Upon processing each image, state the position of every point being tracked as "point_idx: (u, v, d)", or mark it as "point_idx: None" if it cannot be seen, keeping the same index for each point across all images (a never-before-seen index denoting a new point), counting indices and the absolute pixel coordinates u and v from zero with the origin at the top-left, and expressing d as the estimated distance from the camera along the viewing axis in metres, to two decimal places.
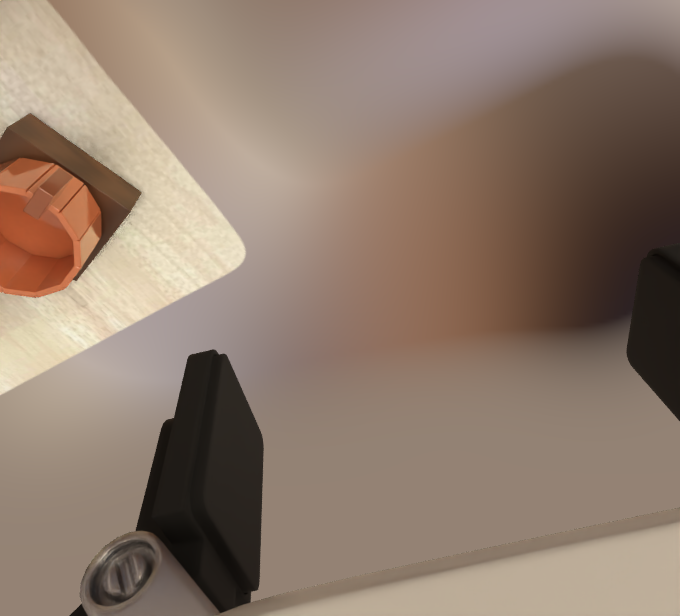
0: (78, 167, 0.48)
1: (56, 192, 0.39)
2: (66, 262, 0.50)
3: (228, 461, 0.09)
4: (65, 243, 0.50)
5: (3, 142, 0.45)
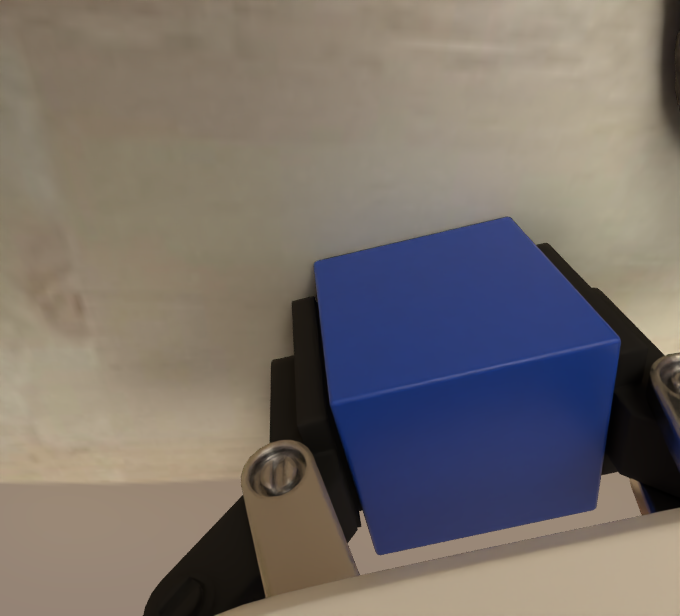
0: None
1: None
2: None
3: None
4: None
5: None
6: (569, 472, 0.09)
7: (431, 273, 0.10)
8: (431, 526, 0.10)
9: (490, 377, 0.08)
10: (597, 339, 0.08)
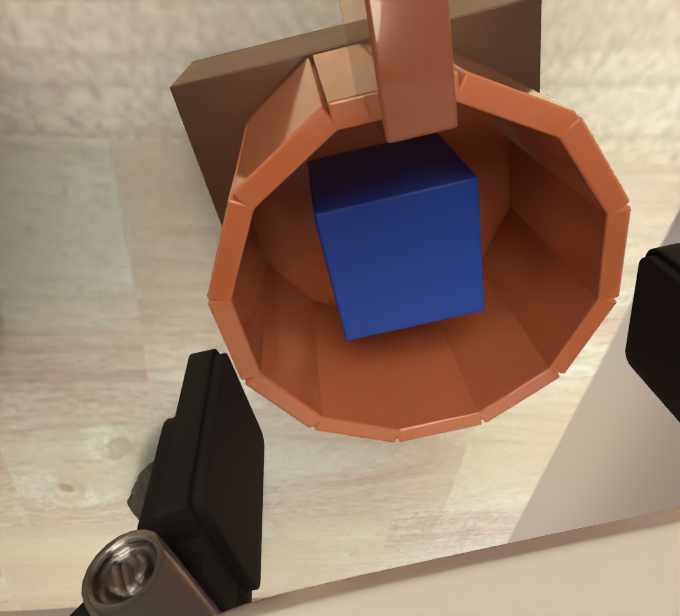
0: None
1: None
2: (512, 252, 0.18)
3: (229, 460, 0.09)
4: None
5: (196, 131, 0.17)
6: (462, 276, 0.15)
7: (380, 160, 0.16)
8: (379, 317, 0.16)
9: (405, 200, 0.14)
10: (465, 178, 0.14)
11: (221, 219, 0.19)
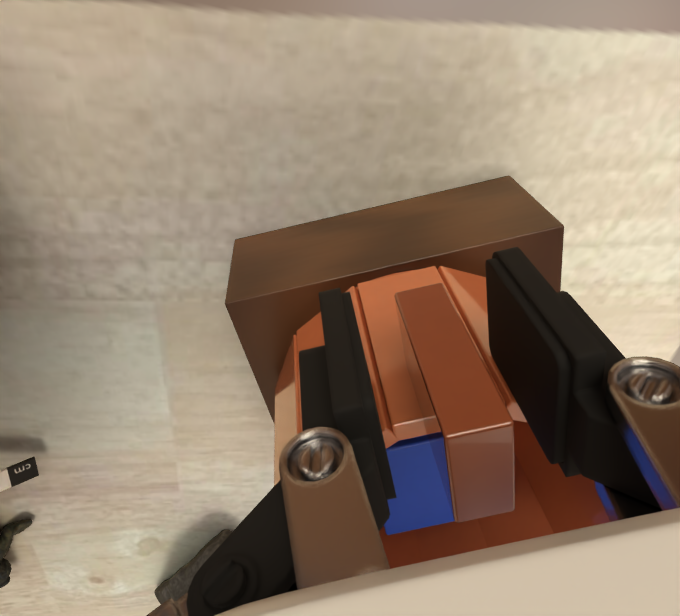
0: (389, 247, 0.18)
1: (494, 390, 0.09)
2: None
3: None
4: None
5: (247, 334, 0.18)
6: None
7: None
8: (417, 518, 0.17)
9: None
10: None
11: (265, 397, 0.20)
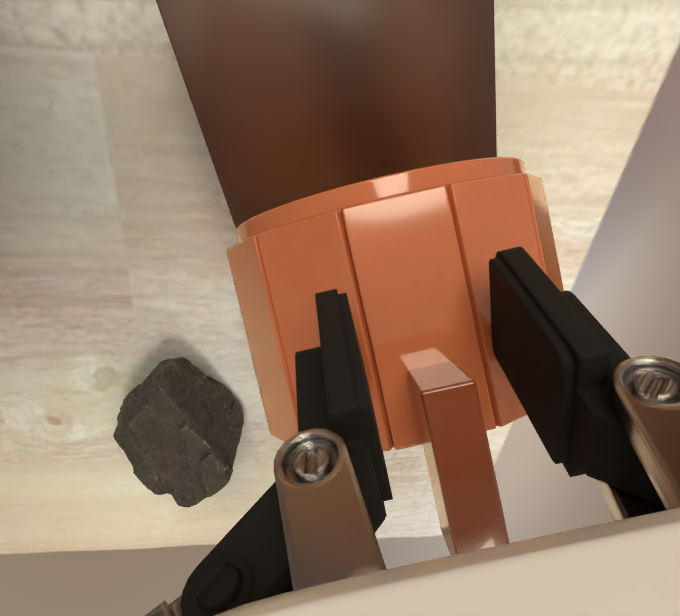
0: None
1: None
2: None
3: (366, 382, 0.10)
4: None
5: (174, 24, 0.18)
6: None
7: None
8: None
9: None
10: None
11: (198, 116, 0.20)
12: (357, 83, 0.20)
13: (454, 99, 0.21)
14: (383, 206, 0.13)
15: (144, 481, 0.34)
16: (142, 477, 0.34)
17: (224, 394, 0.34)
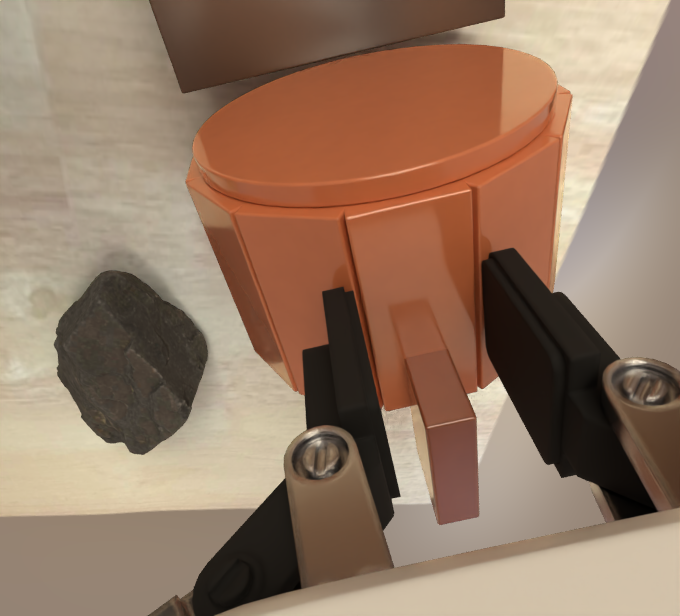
0: None
1: (476, 503, 0.14)
2: None
3: None
4: None
5: None
6: None
7: None
8: None
9: None
10: None
11: None
12: None
13: None
14: (395, 215, 0.11)
15: (91, 424, 0.30)
16: (88, 419, 0.29)
17: (183, 321, 0.29)
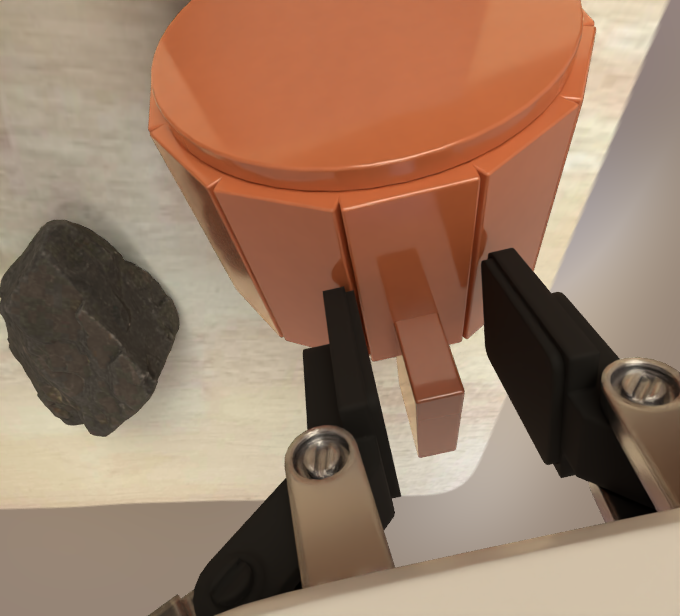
0: None
1: (455, 442, 0.15)
2: None
3: None
4: None
5: None
6: None
7: None
8: None
9: None
10: None
11: None
12: None
13: None
14: (396, 205, 0.10)
15: (46, 402, 0.26)
16: (42, 397, 0.26)
17: (149, 284, 0.25)
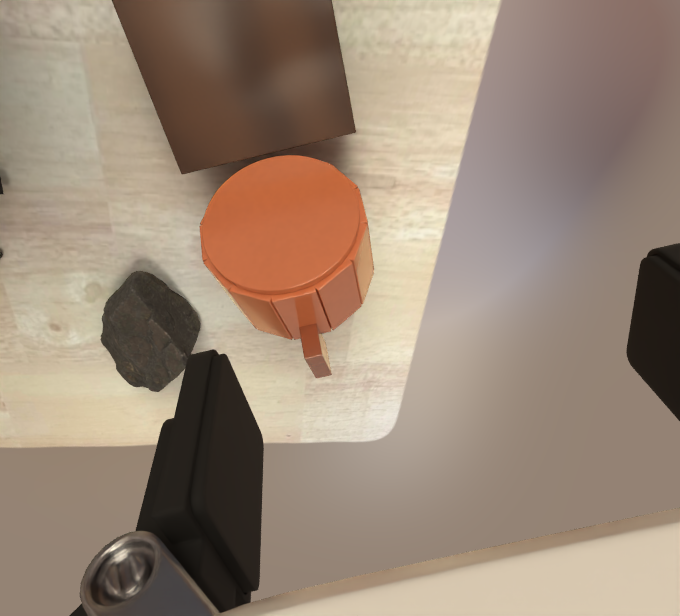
0: None
1: (329, 371, 0.36)
2: None
3: (228, 461, 0.09)
4: None
5: (126, 22, 0.29)
6: None
7: None
8: None
9: None
10: None
11: (146, 82, 0.31)
12: (249, 59, 0.30)
13: (316, 70, 0.31)
14: (289, 299, 0.30)
15: (124, 372, 0.45)
16: (122, 368, 0.45)
17: (183, 304, 0.44)
